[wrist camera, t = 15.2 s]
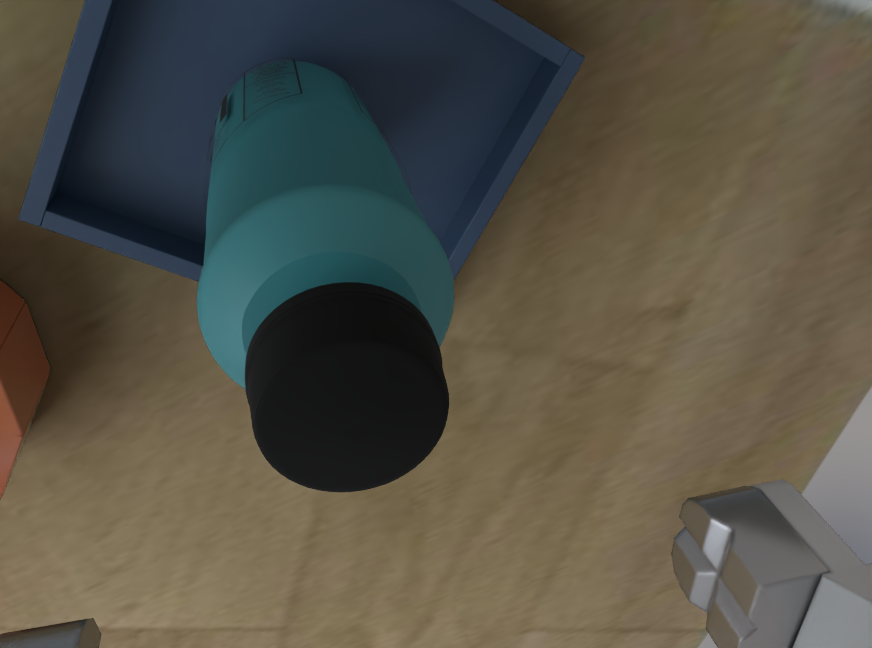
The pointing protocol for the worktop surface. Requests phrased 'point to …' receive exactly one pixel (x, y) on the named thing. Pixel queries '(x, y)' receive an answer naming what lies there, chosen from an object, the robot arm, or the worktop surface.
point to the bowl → (17, 378)
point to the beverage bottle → (322, 282)
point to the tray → (282, 38)
